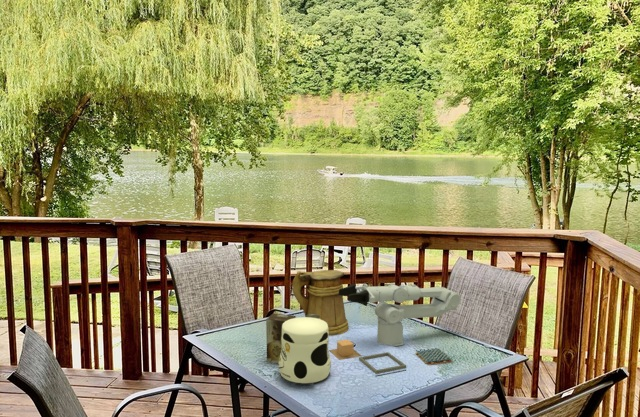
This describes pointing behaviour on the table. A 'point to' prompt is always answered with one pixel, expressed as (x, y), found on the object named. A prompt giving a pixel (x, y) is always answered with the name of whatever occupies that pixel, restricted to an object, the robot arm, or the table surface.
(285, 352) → the milk container
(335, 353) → the post base
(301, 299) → the tankard
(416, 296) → the robot arm
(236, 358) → the table surface
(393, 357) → the tray
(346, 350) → the orange cube
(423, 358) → the woven mat
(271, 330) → the coffee box
